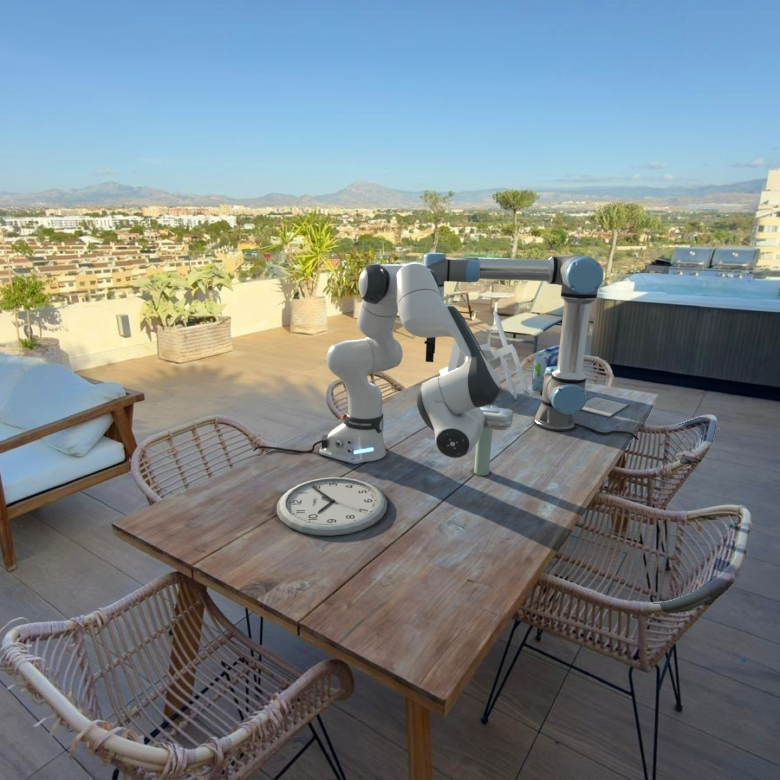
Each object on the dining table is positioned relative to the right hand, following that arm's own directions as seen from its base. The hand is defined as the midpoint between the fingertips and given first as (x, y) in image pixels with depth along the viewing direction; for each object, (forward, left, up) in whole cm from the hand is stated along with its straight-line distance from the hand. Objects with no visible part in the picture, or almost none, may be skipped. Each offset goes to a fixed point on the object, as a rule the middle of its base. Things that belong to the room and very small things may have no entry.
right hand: (430, 357), depth 190 cm
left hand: (-14, +54, 0) cm, 55 cm away
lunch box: (-56, -59, -28) cm, 86 cm away
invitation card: (-73, -38, -28) cm, 87 cm away
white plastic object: (-22, -50, -28) cm, 61 cm away
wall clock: (+23, +61, -28) cm, 71 cm away
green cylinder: (-19, +34, -28) cm, 48 cm away
